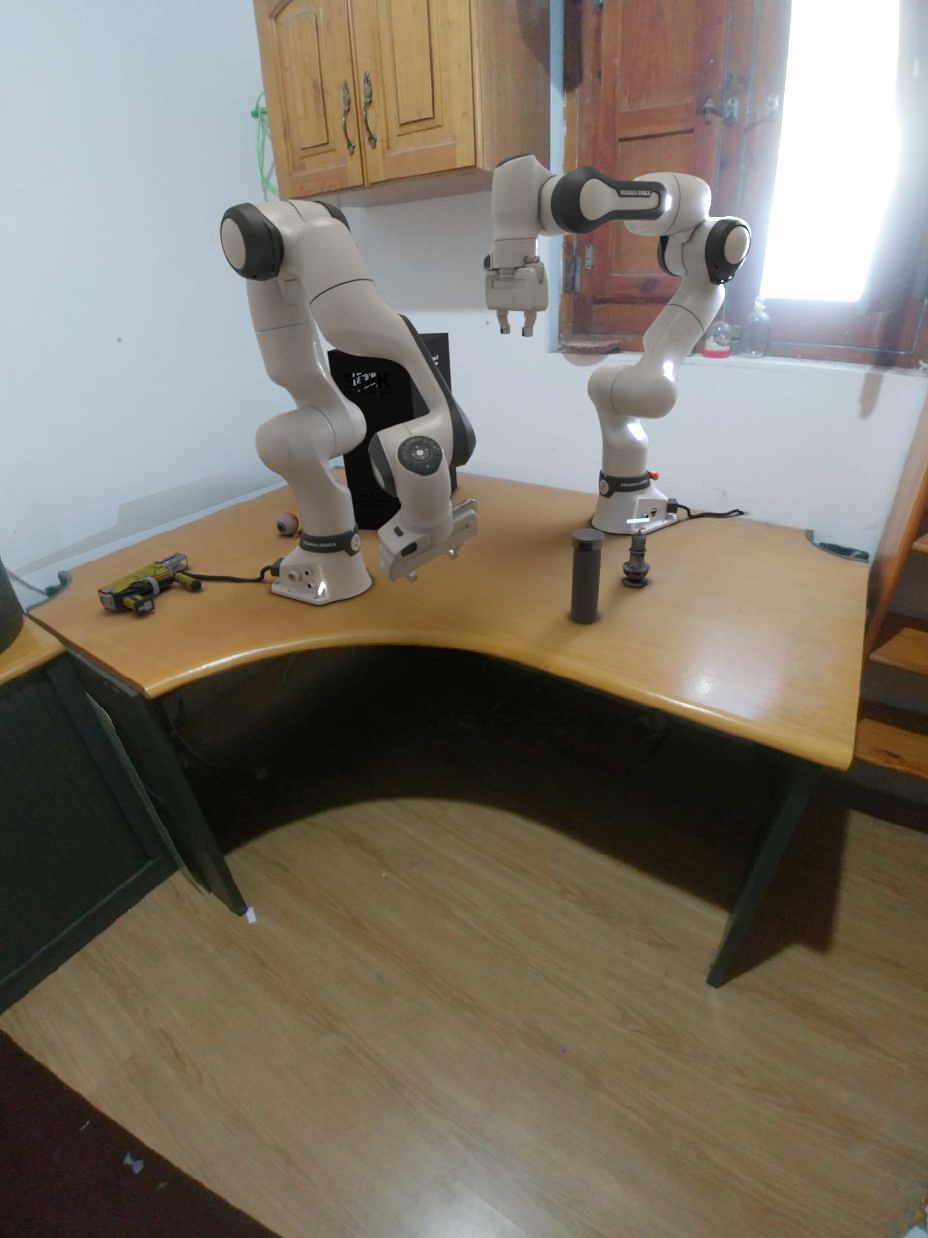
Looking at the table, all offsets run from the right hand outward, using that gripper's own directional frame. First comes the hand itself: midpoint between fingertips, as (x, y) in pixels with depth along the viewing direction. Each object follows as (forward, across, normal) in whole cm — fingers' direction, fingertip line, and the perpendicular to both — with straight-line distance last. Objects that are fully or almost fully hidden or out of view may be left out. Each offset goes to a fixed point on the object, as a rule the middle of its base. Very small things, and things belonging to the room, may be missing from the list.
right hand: (516, 335), depth 125 cm
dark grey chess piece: (+48, -29, -13) cm, 58 cm away
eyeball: (+48, +41, +49) cm, 80 cm away
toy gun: (+48, +20, +80) cm, 96 cm away
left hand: (+37, -21, +30) cm, 52 cm away
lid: (+31, -36, +5) cm, 48 cm away
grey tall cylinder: (+48, -36, +5) cm, 60 cm away
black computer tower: (+48, +44, +12) cm, 66 cm away
